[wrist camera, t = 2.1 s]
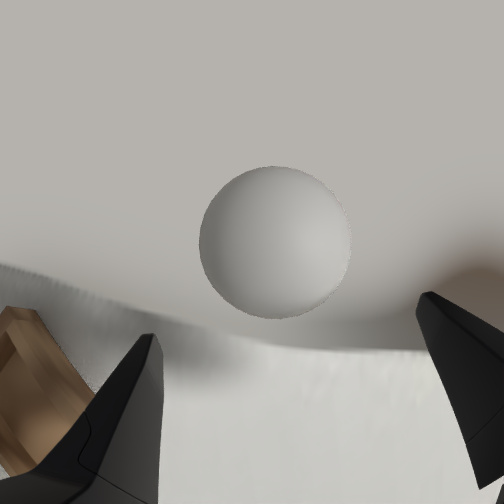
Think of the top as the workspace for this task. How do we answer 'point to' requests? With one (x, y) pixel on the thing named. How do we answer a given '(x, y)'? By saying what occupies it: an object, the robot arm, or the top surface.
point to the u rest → (34, 391)
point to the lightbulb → (275, 242)
